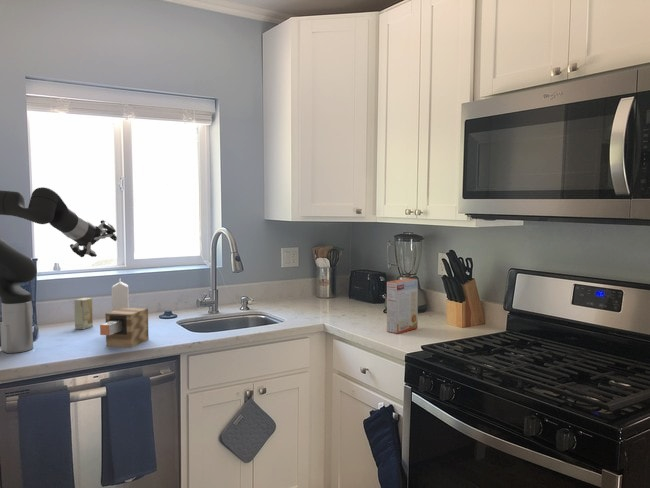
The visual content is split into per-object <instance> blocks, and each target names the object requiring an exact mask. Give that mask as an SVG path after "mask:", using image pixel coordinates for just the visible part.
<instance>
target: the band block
mask: <svg viewBox="0 0 650 488" xmlns="http://www.w3.org/2000/svg"><path fill="white" fill-rule="evenodd" d="M115 319H123V323H124V330H122V331H119V332H117V333H114V334H112V335H105V343H106V345H105V346H106V347H115V348H117V347H118V348H134V347H135V346H138V345H139V344H142V343H145V342H146V341H149V338H150V337H149V308H146V307H143V308H142V307H129V308H127V307H124V308H121V309H118V310H115V311H112V310H111V311H109V312H106V313H105V323H106V322H109V321H112V320H115Z"/></svg>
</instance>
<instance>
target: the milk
mask: <svg viewBox="0 0 650 488" xmlns="http://www.w3.org/2000/svg"><path fill="white" fill-rule="evenodd" d="M121 280H122V279H121V277H120V278H119V281H118V282H117V283H115V284H113V285H112V286H111V312H112V311H115V310H118V309H121V308H124V307H127V308H130V297H129V295H130V291H129V284H127V283H125V282H123V281H121Z"/></svg>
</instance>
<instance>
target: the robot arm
mask: <svg viewBox="0 0 650 488" xmlns="http://www.w3.org/2000/svg"><path fill="white" fill-rule="evenodd" d="M0 216H10V217H11V216H13V217H17V218H21V219H24V220H27V221H30V222H32V223H35V224H39V225H47V224H49V225H50V226H52V227H53V228H55V229H56V230H58V231H59V232H61V233H62V234H63V235H64V236H65V237H67V238H68V239H70V240H72V241H74V242H75V244H73V243H71V244H70V245H69V247H70V249H71V251H72V252H74V254H76V255H77V256H79V257H80V258H83V257H85V255H88V256H90V257H91V258H93V257H94V258H95V257H97V253H96V252H95V250H93V249H91V248H92V246H93V245H95V244H96V243H97V242H99V240H100V239H101V240H103V239H106V238H110V239H111V240H112V241H114V242H116V241H117V240H118V237H117V235H116V231H117V230H116V228H115V227H114V226H113V225H112V224H111V223H108V222H107V221H106V220H103V219H102V220H100V224H99V225H94V224H93V223H91V222H90V221H88V219H85V218H84V217H83V216H81V215H79V214H77V213H76V212H74V211H72V210H71V209H70V208H69V207H68V206H67V204H66V203H65V202H64V200H63V199H62V197H61V196H60V195H59V194H58V192H56V191H55V190H53V189H51V188H48V187H44V186H43V187H37V188H35V189H33V191H32V193H31V196H30V199H29V203H28V207H26V204H25V197H24V195H23V193H21V192H18V191H11V190H0ZM80 247H82V249H80ZM36 276H37V265H36V264H35V262H34V261H33V259H32V258H31V257H30V256H28V255H26V254H24V253H23V252H21V251H19V250H17V249H16V248H15V247H13V246H12V245H10V244H9V243H8V242H7V241H6V240H4V239H3V238H2V237H0V301H1V302H0V303H1V305H0V306H1V323H0V347H1V348H0V349H1V350H0V351H2V352H4V353H6V354H11V353H13V354H15V353H23V352H27V351H30V350H33V349H34V339H33V338H34V337H33V336H34V334H33V333H34V332H33V303H32V294H31V292H30V291H28V290H26V289H24V288H23V287H22V286H21V285H20V283H21V284H23V283H29V282H31V281H32V280H34V279H35V277H36Z"/></svg>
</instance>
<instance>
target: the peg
mask: <svg viewBox="0 0 650 488" xmlns="http://www.w3.org/2000/svg"><path fill="white" fill-rule="evenodd" d="M99 330H100V331H99V333H100V336H106V335H112V334H114V333H117V332H119V331H122V330H124V323H123V319H115V320H112V321H109V322H106V321H105V322H104V323H101V324H99Z"/></svg>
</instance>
